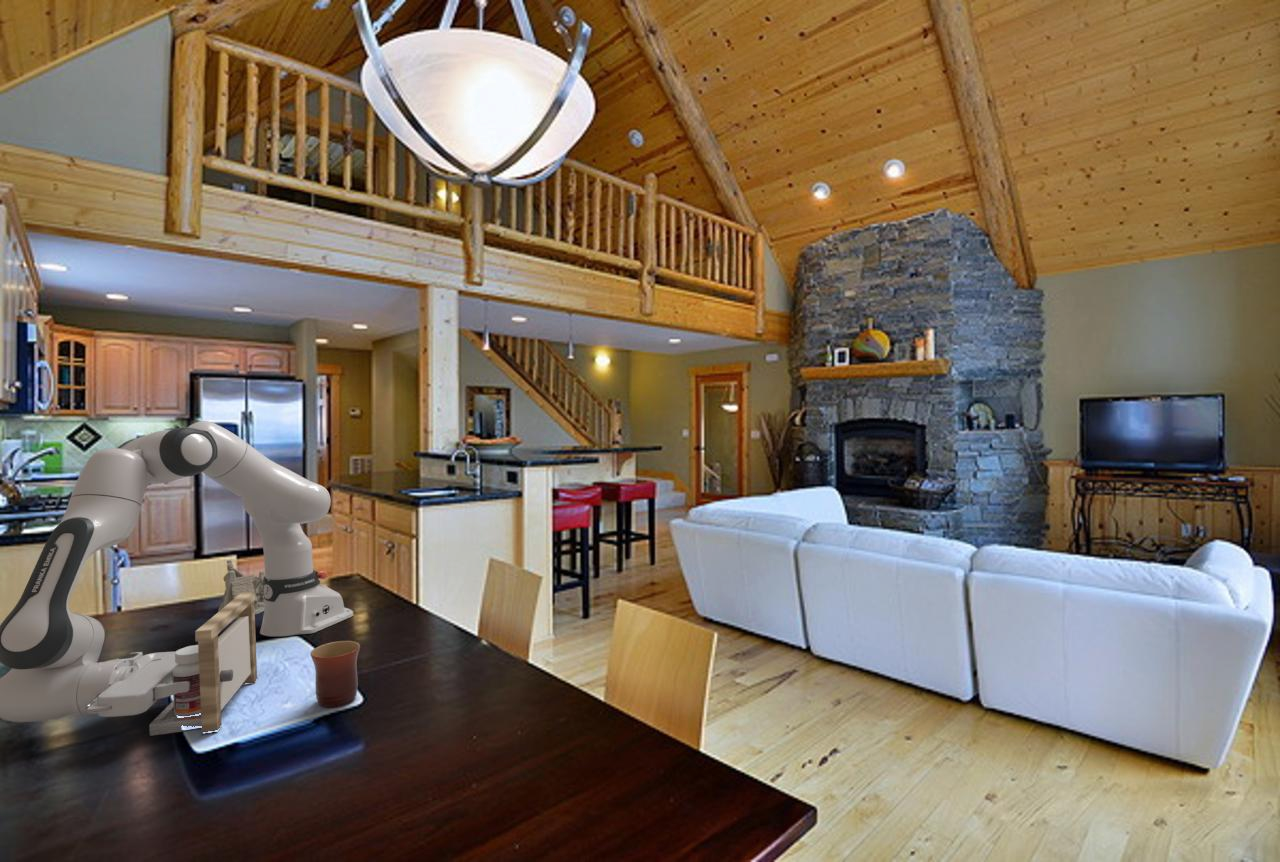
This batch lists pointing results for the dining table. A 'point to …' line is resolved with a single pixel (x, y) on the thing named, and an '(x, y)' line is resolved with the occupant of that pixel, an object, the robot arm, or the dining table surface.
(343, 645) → the mug
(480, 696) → the dining table surface
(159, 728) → the keeper
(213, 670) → the door frame
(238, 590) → the ceramic cottage
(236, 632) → the door
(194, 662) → the pill bottle
